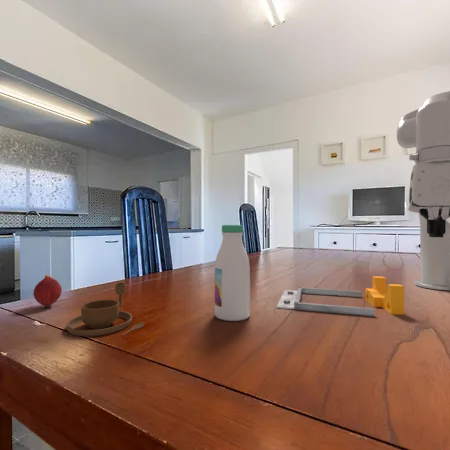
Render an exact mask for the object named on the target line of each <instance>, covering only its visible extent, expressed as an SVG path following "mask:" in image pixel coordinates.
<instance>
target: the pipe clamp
mask: <svg viewBox="0 0 450 450" xmlns="http://www.w3.org/2000/svg"><path fill="white" fill-rule="evenodd" d="M371 283H372V285H371V286H372V287H371V288H365V292H364V294H365V296H364V298H365V301H366V302H368V303H369V304H370V305H371V306H372V307H375V308H382V309H383V310H385V311H386V312H387V313H389V314H390V315H402V316H404V315H405V286H404V285H402V284H399V283H398V284H395V283H388V284H387V278H386V277H385V276H378V275H377V276H376V275H375V276H374V275H373V276H372V282H371Z"/></svg>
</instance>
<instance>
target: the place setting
mask: <svg viewBox="0 0 450 450" xmlns="http://www.w3.org/2000/svg"><path fill="white" fill-rule="evenodd" d="M126 286H127V284H126V282H117V283H115V289H114V290H115V295H117V296H118V300H115V299H99V300H93V301H89V302H86V303H84V304H82V305H81V306H80V314H81V315H79V316H76V317H73V318H71V319H70V320H69V321H68V322H67V323H66V324H65V325H66V327H65V328H66V331H67V332H68V333H69V334H70V335H73V336H77V337H99V336H106V335H109V334H110V335H111V334H113V333H116V332H120V331H122V330H125V329H126V328H128V327H129V326H130V325H131V323H132V321H133V315H132V314H131V313H130V312H128V311H123V310H120V306H123V301H124V300H123V295H124V294H125V293H126V288H127V287H126ZM118 318H119V319H124V320H126V321H125V322H122V323H120V324H118V325H115V326H112V323H114V322H115V321H116V320H117V319H118ZM81 323H84V324H85V325H87V326H89V328H90V329H89V330H88V329H87V330H86V329H77V328H74V327H75V326H76V325H78V324H81ZM110 326H111V327H110ZM143 327H145V322H140V323H136V324H134V325H133V326H132V327H130V329H129V330H127V331H125V332H124V333H122V334H121V336H125V335H126V334H128V333H130V332H133V331H136V330H139V329H142V328H143Z"/></svg>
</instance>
